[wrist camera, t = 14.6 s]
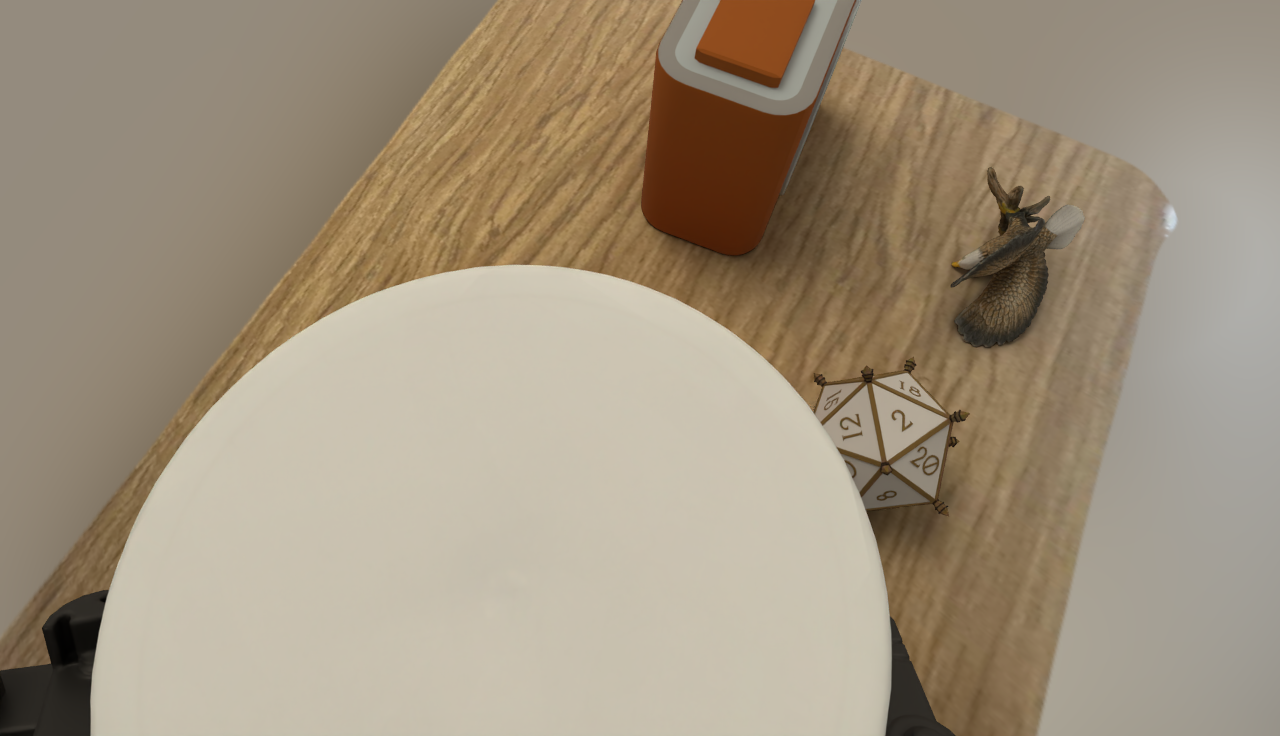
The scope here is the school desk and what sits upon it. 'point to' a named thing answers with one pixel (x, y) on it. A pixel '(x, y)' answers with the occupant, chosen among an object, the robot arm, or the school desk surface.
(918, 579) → the school desk surface
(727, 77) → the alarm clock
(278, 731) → the supplement tub
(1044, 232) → the eagle figurine
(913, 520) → the school desk surface
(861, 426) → the game die
